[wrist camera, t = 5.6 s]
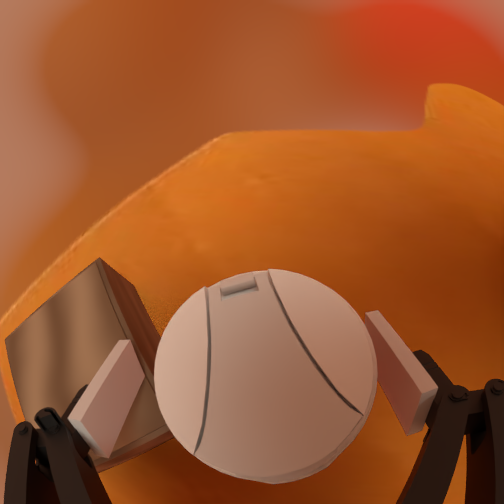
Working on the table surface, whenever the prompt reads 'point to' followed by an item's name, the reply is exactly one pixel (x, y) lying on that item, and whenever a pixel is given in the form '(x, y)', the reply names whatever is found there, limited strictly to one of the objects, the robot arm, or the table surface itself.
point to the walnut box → (88, 355)
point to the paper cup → (266, 375)
